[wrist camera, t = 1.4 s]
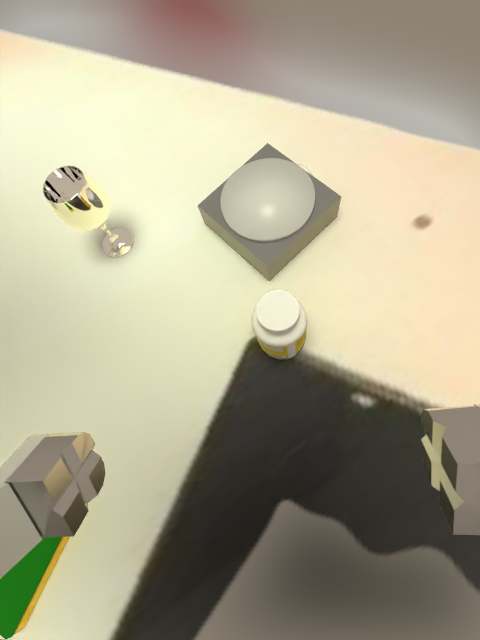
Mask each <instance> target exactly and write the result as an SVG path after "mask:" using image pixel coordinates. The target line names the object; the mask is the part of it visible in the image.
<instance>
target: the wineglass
mask: <svg viewBox="0 0 480 640" xmlns="http://www.w3.org/2000/svg"><path fill="white" fill-rule="evenodd" d="M43 193H44V196H45V198H46V200H47V201H48V203H49V205H50V206H51V208H52V209H53V210H54V212H55V213H56V214H57V216H58V217H59V218H60V219H61V220H62V221H63V222H64V223H65V224H67V225H68V226H70V227H71V228H73V229H75V230H78V231H84V232H89V231H93V230H96V229H98V228H100V229H102V230H104V231H105V232H106V233H107V234H106V236H105V237H104V239H103V242H102V248H103V250H104V252H105V253H106V254H107V255H108V256H111V257H120V256H123V255H124V254H126V253H127V252H128V251H129V250H130V249H131V247H132V245H133V235H132V233H131V232H130V231H129V230H128V229H125V228H115V229H113V230H111V231H109V230H108V228H107V227H106V224H105V222H106V221H107V220H108V217H109V215H110V209H111V207H110V201H109V198H108V196H107V194H106V193H105V191H104V190H103V188H102V187H101V186H100V185H99V184H98V183H97V182H96V181H95V180H94V179H93V178H91V177H90V176H89V175H88V174H86V173H85V172H84V171H82V170H81V169H79V168H77V167H75V166H64V167H60V168H58V169H56V170H55V171H53V172H52V173H51V174H50V175H49V176H48V177H47V179H46V180H45V183H44V186H43Z"/></svg>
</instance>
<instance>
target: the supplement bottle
mask: <svg viewBox="0 0 480 640" xmlns="http://www.w3.org/2000/svg"><path fill="white" fill-rule="evenodd" d="M252 326H253V330H254V332H255V335H256V337H257V340H258V342H259V344H260V346H261V348H262V349H263V351H264V352H265V353H266V354H267V355H269V356H270V357H273V358H276V359H288V358H291V357H293V356H295V355H296V354H298V353H299V352H300V350H301V349H302V347H303V345H304V342H305V338H306V327H307V316H306V312H305V309H304V308H303V306H302V304H301V303H300V302H299V301H298V300H297V299H296V298H295V296H294V295H292V294H291V293H290V292H288V291H285V290H278V289H277V290H271V291H269V292H267V293H265V294H264V295H263V296H262V297H261V298H260V299H259V301H258V303H257V305H256V307H255V309H254V311H253V314H252Z"/></svg>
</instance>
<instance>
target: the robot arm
mask: <svg viewBox="0 0 480 640" xmlns="http://www.w3.org/2000/svg"><path fill="white" fill-rule="evenodd" d="M422 426H423V428H424V430H425V432H426V435H425V437H424V438H423V439H422V440H421V448H422V457H423V463H424V467H425V470H426V473H427V476H428V479H429V481H430V483H431V485H432V486H433V487H435V488H436V489H437V490H439V491H440V500H439V504H440V506H441V508H442V511H443V513H444V515H445V517H446V520H447V522H448V524H449V526H450V529H451V531H452V533H453V534H462V535H480V404H479V405H474V406H461V407H448V408H434V409H423V412H422ZM94 446H95V443H94V441H93V439H92V437H91V435H90V434H88V433H84V432H80V433H56V434H41V435H34V436H31V437H29V438H28V439H27V440H26V441H25V442H24V443H23V444H22V445H21V446H20V447H19V448H18V449H17V450H16V451H15V452H14V453H13V454H12V456H11V457H10V458H9V459H8V460H7V461H6V462H5V463H4V464H3V465H2V466H1V467H0V579H1V578H2V577H3V576H4V575H5V574H6V573H7V572H8V571H9V570H10V569H11V568H13V567H14V566H15V565H16V564H17V563H18V562H19V561H20V560H21V559H22V558H23V557H24V556H25V555H26V554H27V553H29V552H30V551H31V550H32V549H33V548H34V547H35V546H36V545H37V544H38V543H39V542H40V541H41V540H42V537H67V536H74V535H75V533H76V532H77V530H78V528H79V526H80V525H81V523H82V521H83V519H84V518H85V516H86V514H87V512H88V504H87V503H88V502H89V501H91V500H92V499H93V498H94V497H96V496H97V495H98V493H99V491H100V489H101V487H102V486H103V482H104V477H105V468H104V463H103V461H102V458H101V457H100V456H99V455H98V454H96V453H95V452H94V451H93V448H94ZM0 640H2V639H0Z"/></svg>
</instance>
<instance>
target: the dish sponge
mask: <svg viewBox="0 0 480 640" xmlns="http://www.w3.org/2000/svg"><path fill="white" fill-rule="evenodd" d="M69 537H70V536H67V537H42V540H41V541H40V542H39V543H38V544H37V545H36V546H35V547H34V548H33V549H32V550H31V551H30V552H29V553H27V554H26V555H25V556H24V557H23V558H22V559H21V560H20V561H19V562H18V563H17V564H16V565H15V566H14V567H13V568H11V569H10V570H9V571H8V572H7V573H6V574H5V575H4V576H3V577H2V578H1V579H0V635H1V636H2V637H3V638H5V639H8V638H10V637H12V636H13V635H14V634H16V633H17V632H19V631H20V630H21V629H23V628H24V627H25V625H26V623H27V621H28V619H29V617H30V615H31V613H32V611H33V609H34V607H35V605H36V603H37V601H38V599H39V597H40V595H41V593H42V591H43V589H44V587H45V585H46V583H47V581H48V579H49V577H50V575H51V573H52V571H53V569H54V567H55V565H56V563H57V561H58V559H59V557H60V555H61V553H62V551H63V549H64V547H65V545H66V543H67V541H68V539H69Z"/></svg>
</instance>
